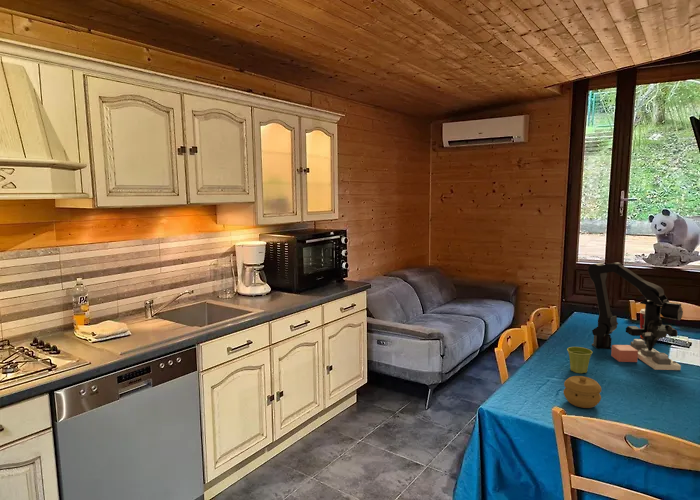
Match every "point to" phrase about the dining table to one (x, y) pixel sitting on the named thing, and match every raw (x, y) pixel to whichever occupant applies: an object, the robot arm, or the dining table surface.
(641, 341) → the breaker left
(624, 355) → the terracotta orange block
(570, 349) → the plant pot
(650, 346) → the robot arm
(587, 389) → the pot
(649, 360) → the breaker panel
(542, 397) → the dining table surface
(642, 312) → the paper cup
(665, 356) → the breaker right
